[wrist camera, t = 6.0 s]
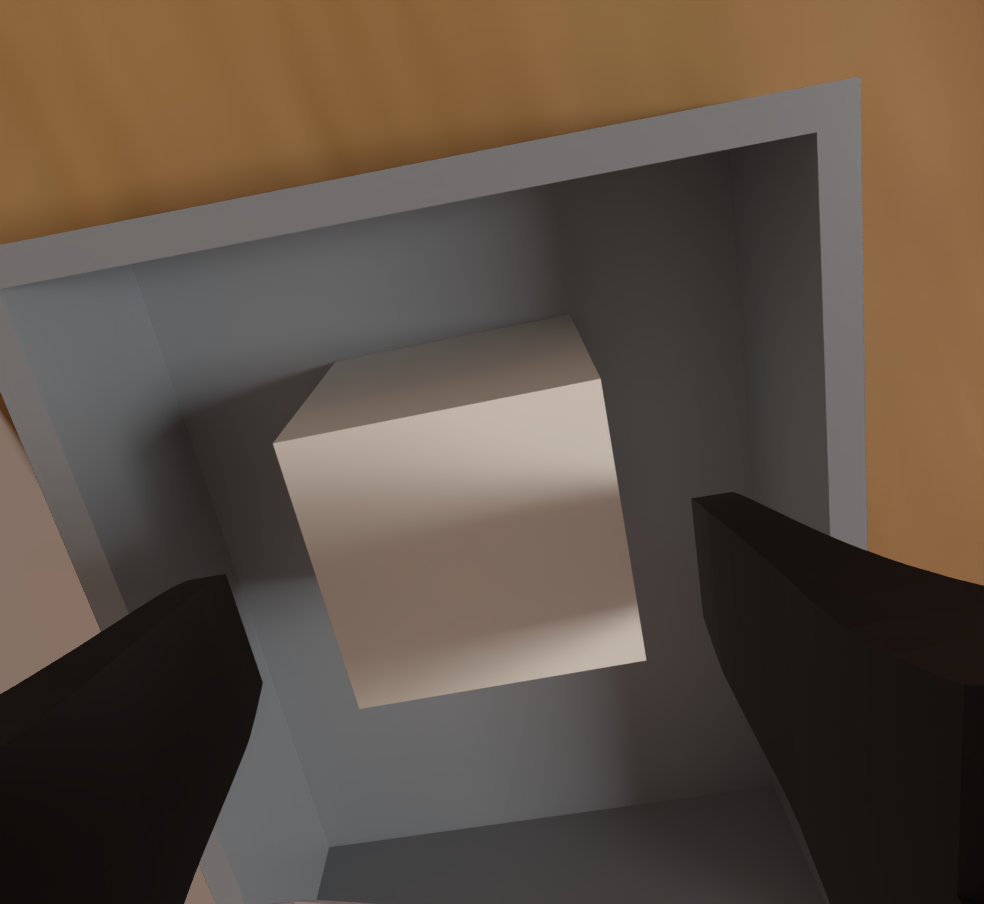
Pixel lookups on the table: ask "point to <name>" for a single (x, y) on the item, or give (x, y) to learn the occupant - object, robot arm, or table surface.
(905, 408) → the table surface
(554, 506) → the cube
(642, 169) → the box
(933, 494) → the table surface
